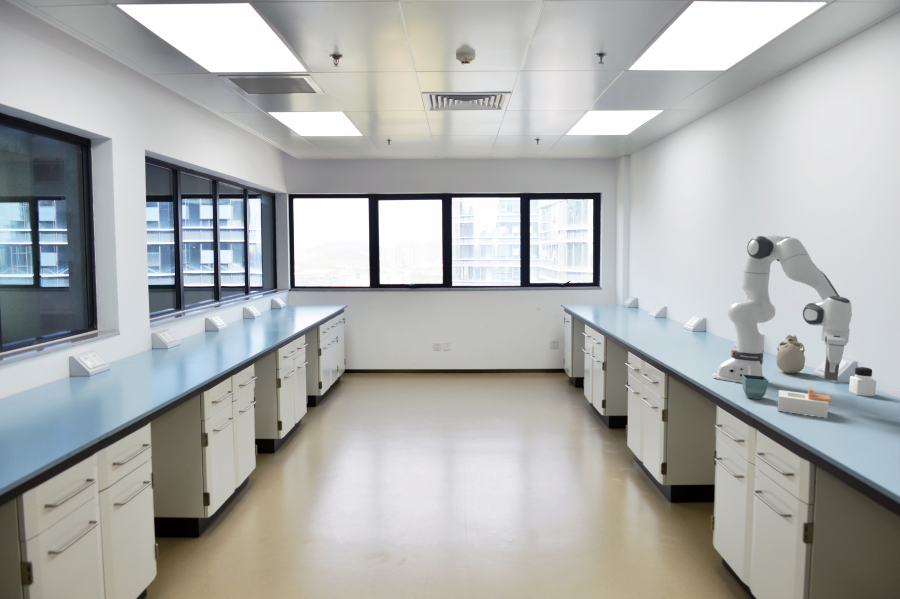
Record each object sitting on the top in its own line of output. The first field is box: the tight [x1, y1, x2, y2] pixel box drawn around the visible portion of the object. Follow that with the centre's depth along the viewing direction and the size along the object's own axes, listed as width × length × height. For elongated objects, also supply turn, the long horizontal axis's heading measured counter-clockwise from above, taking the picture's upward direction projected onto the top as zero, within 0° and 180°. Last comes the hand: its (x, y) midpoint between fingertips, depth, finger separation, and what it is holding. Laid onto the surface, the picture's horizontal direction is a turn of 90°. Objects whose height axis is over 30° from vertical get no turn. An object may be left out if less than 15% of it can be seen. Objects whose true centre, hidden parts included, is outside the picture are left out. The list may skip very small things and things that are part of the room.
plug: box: [823, 355, 840, 381], centre depth 218 cm, size 4×4×12 cm
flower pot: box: [741, 375, 769, 400], centre depth 233 cm, size 9×9×9 cm
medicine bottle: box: [848, 366, 877, 397], centre depth 241 cm, size 7×7×12 cm
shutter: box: [807, 386, 832, 403], centre depth 210 cm, size 7×7×3 cm
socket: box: [777, 389, 829, 419], centre depth 214 cm, size 16×12×6 cm
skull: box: [775, 334, 806, 374], centre depth 280 cm, size 13×15×20 cm
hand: (831, 370), depth 218 cm, fingers closed on plug, 4 cm apart
